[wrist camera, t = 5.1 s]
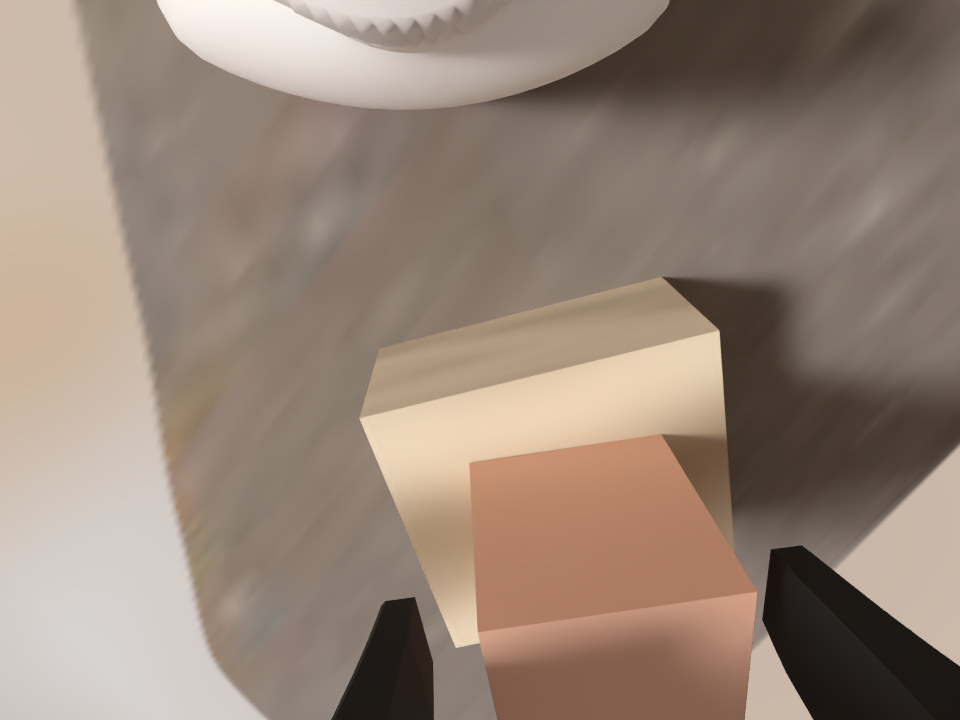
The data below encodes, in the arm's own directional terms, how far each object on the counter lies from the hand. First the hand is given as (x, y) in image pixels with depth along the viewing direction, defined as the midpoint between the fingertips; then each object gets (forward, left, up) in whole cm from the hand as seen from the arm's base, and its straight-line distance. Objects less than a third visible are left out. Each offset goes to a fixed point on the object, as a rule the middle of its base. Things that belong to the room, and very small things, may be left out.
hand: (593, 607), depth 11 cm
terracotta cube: (0, 0, -3) cm, 3 cm away
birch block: (0, 0, -7) cm, 7 cm away
